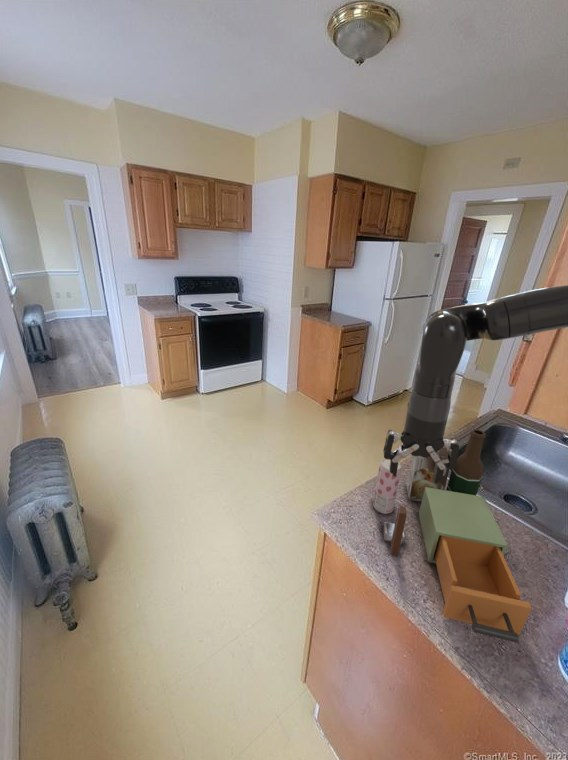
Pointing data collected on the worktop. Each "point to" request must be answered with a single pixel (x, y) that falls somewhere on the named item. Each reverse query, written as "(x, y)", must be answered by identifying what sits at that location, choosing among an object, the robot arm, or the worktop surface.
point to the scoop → (395, 530)
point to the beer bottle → (468, 467)
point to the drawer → (480, 588)
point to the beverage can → (386, 487)
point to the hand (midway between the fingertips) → (414, 477)
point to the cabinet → (457, 520)
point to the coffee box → (424, 475)
